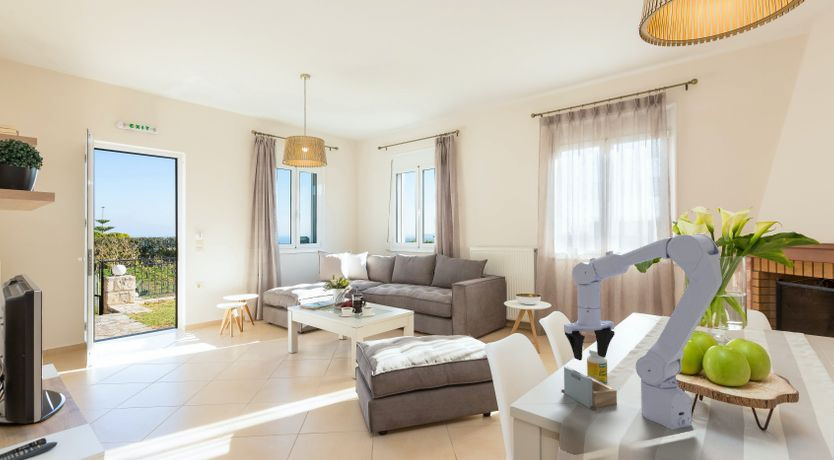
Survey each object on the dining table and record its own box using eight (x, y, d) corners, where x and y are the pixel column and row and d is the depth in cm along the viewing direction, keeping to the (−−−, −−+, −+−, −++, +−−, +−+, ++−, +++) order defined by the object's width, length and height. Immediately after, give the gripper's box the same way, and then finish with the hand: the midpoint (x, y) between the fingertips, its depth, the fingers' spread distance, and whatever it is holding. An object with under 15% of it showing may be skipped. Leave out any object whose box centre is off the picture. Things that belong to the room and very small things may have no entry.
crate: (619, 409, 95) (619, 391, 95) (592, 414, 93) (592, 395, 93) (585, 391, 106) (585, 374, 106) (561, 395, 104) (561, 378, 104)
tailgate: (592, 407, 94) (592, 378, 94) (588, 408, 94) (587, 379, 94) (567, 392, 103) (567, 366, 103) (563, 393, 103) (563, 367, 103)
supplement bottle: (594, 377, 116) (593, 345, 116) (611, 383, 111) (610, 350, 112) (583, 381, 113) (583, 349, 113) (600, 387, 108) (600, 353, 109)
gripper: (600, 302, 109) (601, 350, 109) (556, 306, 105) (557, 356, 105) (619, 307, 102) (620, 358, 102) (573, 310, 98) (574, 364, 98)
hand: (590, 357), depth 103 cm, fingers open, 7 cm apart
